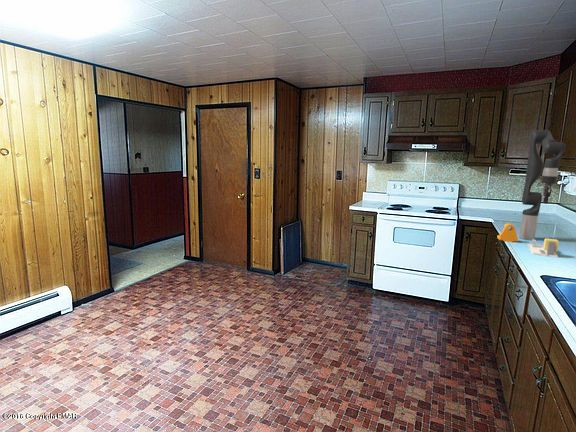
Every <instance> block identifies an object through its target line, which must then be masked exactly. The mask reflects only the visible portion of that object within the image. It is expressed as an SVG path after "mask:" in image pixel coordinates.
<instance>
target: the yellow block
mask: <svg viewBox="0 0 576 432" xmlns="http://www.w3.org/2000/svg"><path fill="white" fill-rule="evenodd" d="M549 242H556V245H555V251H554V252H555V253H556V252H558V250H559V249H558V248H559V240H558V239H556V238H555V239H554V238H544V242H543V245H542V246H543V249H544V250H547V245H549Z"/></svg>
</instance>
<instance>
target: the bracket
mask: <svg viewBox="0 0 576 432" xmlns="http://www.w3.org/2000/svg"><path fill="white" fill-rule="evenodd" d="M509 227H510V228H509ZM497 239H498V240H499V241H502V242H507V243H514V242H518V241H519V236H518V234H517V231H516V227H515V226H514V225H513V224H511V223H509V222H508V223H505V224H504V226H503V230H502V231H501V233H500V234H497Z"/></svg>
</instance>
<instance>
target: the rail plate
mask: <svg viewBox="0 0 576 432" xmlns="http://www.w3.org/2000/svg"><path fill="white" fill-rule="evenodd" d="M555 245H556V242H549V245H547V250H544V249H543V246H544V245H542V244H541V245H540V244H537V240H536V239H532V240H531V243H527V247H528V249H529V251H530V252H531V254H532V255H535V254H536V255H535V256H545V257H550V258H551V257H553V258H558V257H559V256H558V254H557V253H556V252H555Z"/></svg>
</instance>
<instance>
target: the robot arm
mask: <svg viewBox="0 0 576 432" xmlns="http://www.w3.org/2000/svg"><path fill="white" fill-rule="evenodd" d="M537 145H541V146H542V148H543V153H544V154H547V155H554V156H553V157H548V158H545V161H543V159H542V157H541V156H540V154H539V151H538V150H537ZM566 147H567V146H566V143H565V142H561V141H560V142H558V141H557V140H555V139H554V136H553V134H552V132H551V130H548V129H540V130H539V129H534V130H532V131H531V132H530V135H529V149H528V150H529V151H528V157H527V165H526V174H525V181H524V186H523V191H522V196H521V203H522V204H523V205H525V206H531V207H530V208H527V209H523V210H522V214H521V221H520V228H519V233H518V239H522V240H527V241H532V239H535V238H536V232H537V225H538V221H539V220H538V219H539V214H540V210H541V205H542V203H543V204H545V205H547V204H548V203H549V198H550V197H551V194H552V191H553V186H552V185H553V184H557V180H558V175H559V166H560V162H561V158H562V156H563V154H564V153H565V150H566V149H567V148H566ZM540 177H541V180H540V181H541V182H540V183H542V184H544V185H543V189H542V190H543V192H538V191H537V192H536V191H531V189H532V187H533V185H534V184H535V183H536V181H537V180H538V179H539V178H540ZM542 193H543V195H542ZM542 200H543V201H542ZM535 240H536V239H535Z"/></svg>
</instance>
